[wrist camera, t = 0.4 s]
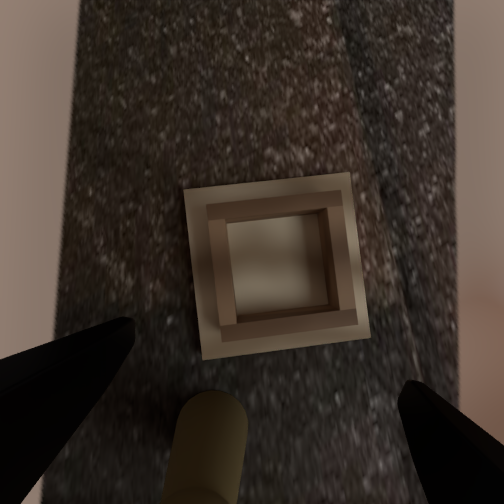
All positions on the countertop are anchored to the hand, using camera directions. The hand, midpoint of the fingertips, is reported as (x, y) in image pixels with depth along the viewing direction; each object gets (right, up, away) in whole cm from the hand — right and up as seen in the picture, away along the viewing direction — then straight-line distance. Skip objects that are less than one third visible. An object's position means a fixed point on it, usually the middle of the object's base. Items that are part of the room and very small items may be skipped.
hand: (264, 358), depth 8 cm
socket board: (+2, +2, +13) cm, 14 cm away
